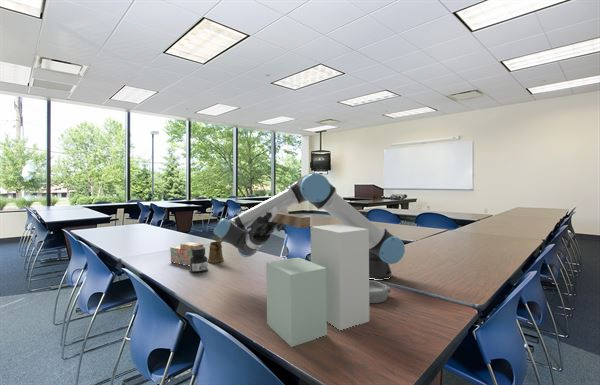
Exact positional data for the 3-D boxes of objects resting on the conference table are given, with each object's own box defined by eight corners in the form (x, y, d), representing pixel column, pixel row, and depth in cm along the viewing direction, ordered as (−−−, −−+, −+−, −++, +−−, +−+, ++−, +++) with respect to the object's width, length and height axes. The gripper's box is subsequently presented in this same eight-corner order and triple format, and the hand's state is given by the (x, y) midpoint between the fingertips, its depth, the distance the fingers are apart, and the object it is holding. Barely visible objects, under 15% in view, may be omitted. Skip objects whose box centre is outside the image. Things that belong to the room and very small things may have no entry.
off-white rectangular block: (311, 312, 104) (310, 226, 104) (338, 304, 110) (337, 224, 110) (340, 330, 91) (339, 232, 90) (369, 321, 97) (368, 229, 96)
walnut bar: (266, 220, 105) (266, 211, 105) (273, 219, 107) (273, 211, 107) (301, 228, 84) (301, 217, 84) (310, 227, 86) (310, 217, 86)
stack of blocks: (170, 263, 175) (170, 242, 175) (179, 260, 180) (179, 240, 180) (194, 267, 164) (194, 245, 164) (204, 265, 169) (203, 243, 169)
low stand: (267, 324, 96) (266, 262, 95) (299, 315, 102) (298, 257, 101) (291, 347, 82) (290, 274, 81) (326, 335, 88) (326, 268, 88)
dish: (368, 307, 108) (368, 293, 108) (345, 295, 121) (345, 283, 120) (397, 299, 115) (397, 287, 115) (373, 289, 127) (373, 277, 127)
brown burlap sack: (215, 265, 168) (214, 233, 167) (205, 261, 178) (204, 231, 177) (229, 262, 173) (229, 232, 173) (219, 258, 184) (218, 229, 183)
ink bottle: (193, 274, 151) (192, 251, 151) (186, 271, 158) (186, 248, 157) (211, 270, 158) (210, 248, 157) (204, 267, 164) (203, 245, 164)
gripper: (278, 243, 118) (305, 218, 101) (239, 247, 110) (261, 221, 92) (274, 225, 121) (299, 198, 104) (236, 229, 113) (256, 200, 95)
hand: (281, 209), depth 98 cm, fingers closed on walnut bar, 3 cm apart
